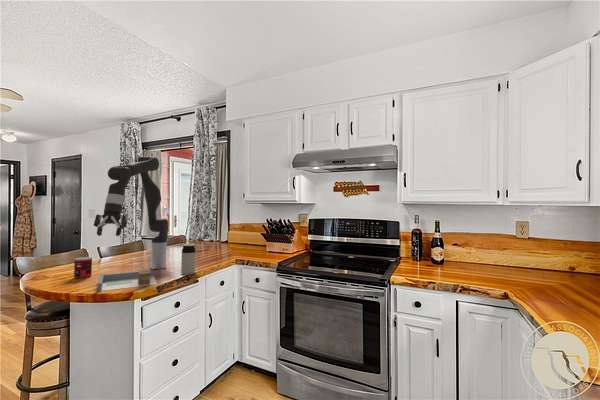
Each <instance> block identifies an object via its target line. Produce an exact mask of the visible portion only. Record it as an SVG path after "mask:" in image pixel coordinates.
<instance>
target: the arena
mask: <svg viewBox="0 0 600 400" xmlns="http://www.w3.org/2000/svg"><path fill="white" fill-rule="evenodd" d="M149 271H150V284H149V285H148V286H153V285H158V282H157V280H156V278H155V269H149ZM143 286H146V285H141V286H139V283H138V271H127V272H126V271H125V272H116V273H115V272H113V273H105V274H100V275H99V279H98V280H97V292H100V291H101V292H102V291H110V290H118V289H119V290H121V289H127V288H129V289H130V288H135V287H143Z"/></svg>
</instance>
